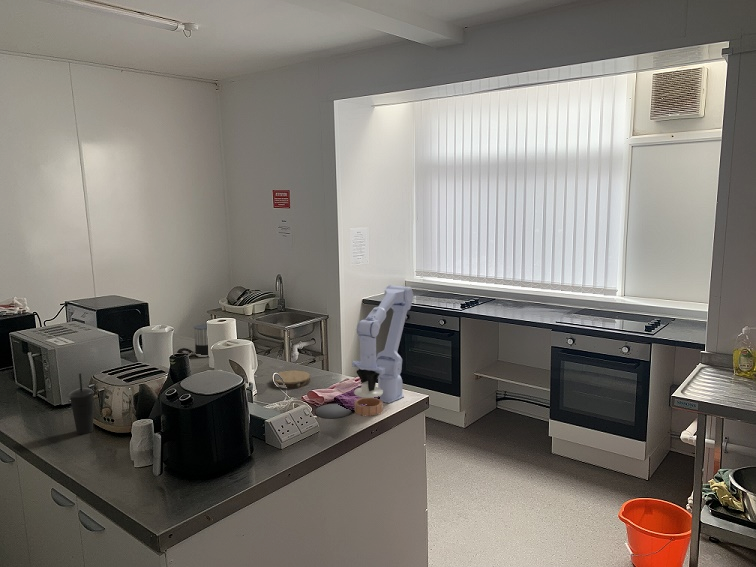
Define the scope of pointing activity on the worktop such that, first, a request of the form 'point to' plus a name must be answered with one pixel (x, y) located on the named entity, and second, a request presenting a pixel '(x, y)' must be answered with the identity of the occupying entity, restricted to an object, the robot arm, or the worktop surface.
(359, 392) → the lid
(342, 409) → the mat
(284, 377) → the brown round disc
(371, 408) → the bowl
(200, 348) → the milk frother
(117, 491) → the worktop surface
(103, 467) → the worktop surface
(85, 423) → the drinking cup
